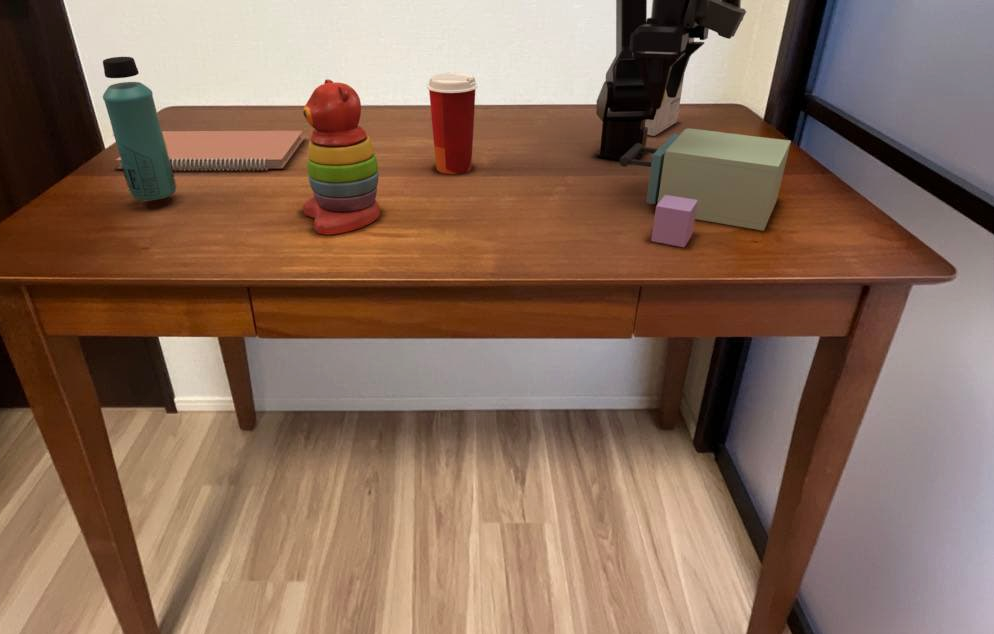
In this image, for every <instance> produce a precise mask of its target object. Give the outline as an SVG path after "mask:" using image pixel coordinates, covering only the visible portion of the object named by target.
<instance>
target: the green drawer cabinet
mask: <svg viewBox="0 0 994 634" xmlns="http://www.w3.org/2000/svg"><path fill="white" fill-rule="evenodd" d="M678 135H679V137H678V138H677V139H676V140H675V141H674V142H673V143H672V144H671V145H670V146H669V147H668V149H667V150H666V151H665V156H664V163H663V170H662V177H661V184H660V190H659V197H658V200H657V204H658V203H659V202H660V201H661V199H662V198H663V197H664V196H665V195H670V196H676V197H682V198H688V199H695V200H698V205H697V210H696V216H695V220H698V221H702V222H703V221H704V222H709V223H710V222H711V223H716V224H721V225H727V226H734V227H739V228H744V229H750V230H756V231H763V232H764V231H765V229H766V227H767V224H768V222H769V220H770V217H771V215H772V213H773V210H774V208H775V206H776V203H777V202H778V197H779V192H780V189H781V185H782V180H783V176H784V174H785V173H784V172H785V167H786V164H787V160H788V156H789V152H790V148H791V143H792V141H791V140H789V139H780V138H770V137H763V136H756V135H746V134H739V133H732V132H731V133H730V132H722V131H716V130H715V131H714V130H705V129H698V128H689V127H686V128H685V129H684V130H683V131H682V132H681V133H680V134H678Z"/></svg>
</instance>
